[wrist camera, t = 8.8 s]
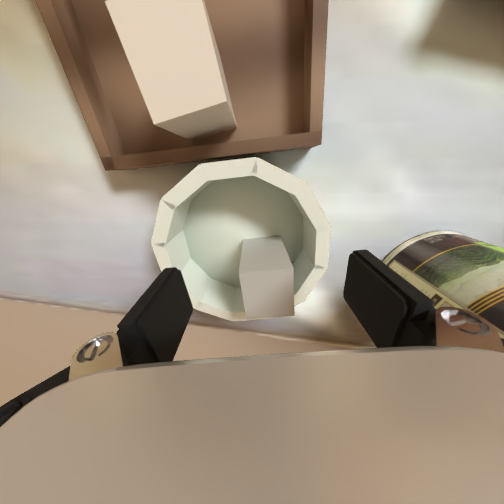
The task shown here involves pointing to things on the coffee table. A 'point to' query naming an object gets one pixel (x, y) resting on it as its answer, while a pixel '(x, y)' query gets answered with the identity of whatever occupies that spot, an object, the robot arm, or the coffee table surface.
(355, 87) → the coffee table surface
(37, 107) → the coffee table surface
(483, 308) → the coffee can
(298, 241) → the celadon bowl
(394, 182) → the coffee table surface
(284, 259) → the light grey block
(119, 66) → the walnut tray
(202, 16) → the beige brick
